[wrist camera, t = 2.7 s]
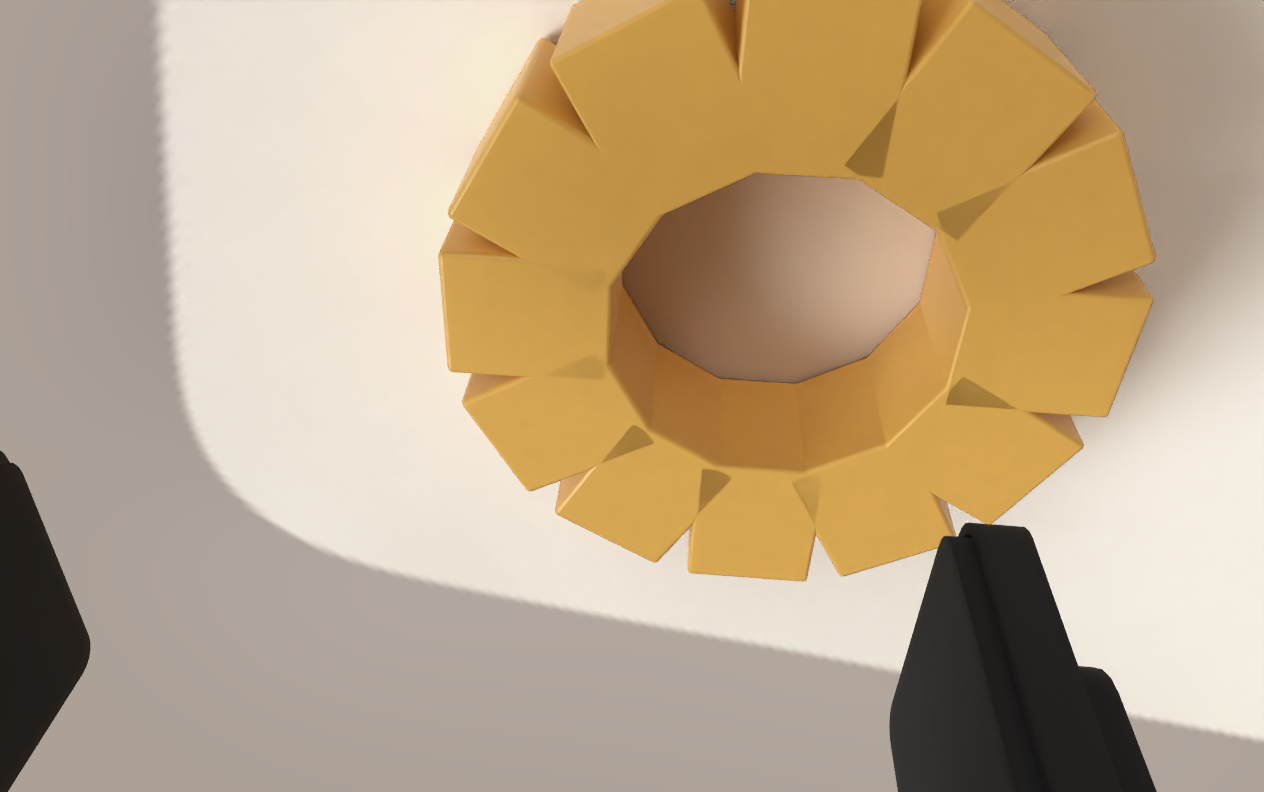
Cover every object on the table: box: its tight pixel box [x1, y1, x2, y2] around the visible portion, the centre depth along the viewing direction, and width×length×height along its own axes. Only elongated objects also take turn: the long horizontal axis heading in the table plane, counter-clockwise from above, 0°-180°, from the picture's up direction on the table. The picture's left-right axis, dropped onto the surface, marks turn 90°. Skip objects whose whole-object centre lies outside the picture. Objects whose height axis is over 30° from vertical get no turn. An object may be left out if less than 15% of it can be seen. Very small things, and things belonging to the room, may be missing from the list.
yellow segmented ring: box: [438, 0, 1155, 581], centre depth 15 cm, size 10×10×2 cm
